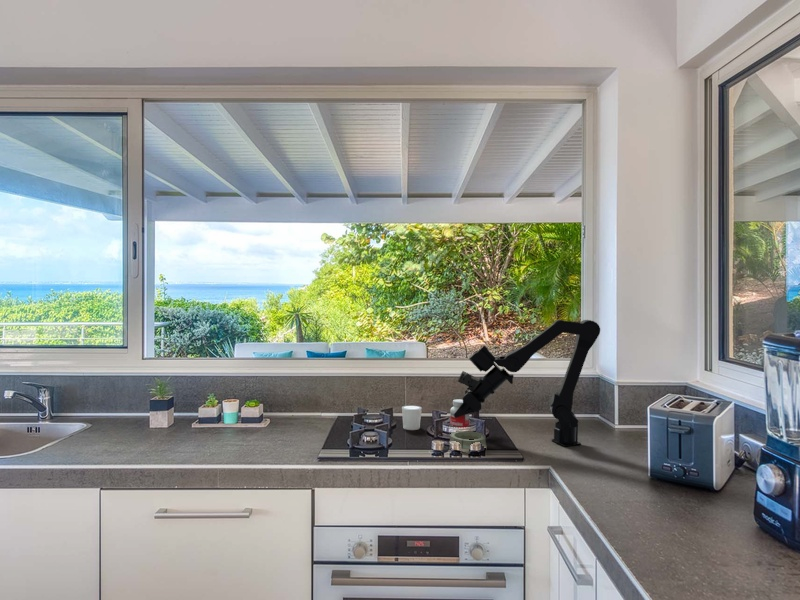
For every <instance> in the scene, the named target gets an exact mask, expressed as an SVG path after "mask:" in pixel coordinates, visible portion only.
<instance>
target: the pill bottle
mask: <svg viewBox="0 0 800 600" xmlns="http://www.w3.org/2000/svg"><path fill="white" fill-rule="evenodd" d="M462 403H463V399H459V398H458V399H457V398H456V399H453V400H452V405H453V406H452V407H451V408H450V412H449V413H450V414H449V416H450V417H449V425H450V424H451V425H453V426H457V427H467V426H469V427H470V413H469V414H466V415H463V416H459V417H456V418H455V417H454V414H455V412H456V411H457V410H458V408H459V407H460V406H461V404H462Z"/></svg>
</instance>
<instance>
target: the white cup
mask: <svg viewBox="0 0 800 600" xmlns="http://www.w3.org/2000/svg"><path fill="white" fill-rule="evenodd" d="M401 412H402V413H401V414H402V427H403V430H407V431H416V430H419V429H420V427H421V420H422V419H421V418H422V406H419V405H412V404H411V405H403V406H401Z"/></svg>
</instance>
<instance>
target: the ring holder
mask: <svg viewBox="0 0 800 600" xmlns="http://www.w3.org/2000/svg"><path fill="white" fill-rule="evenodd" d="M486 437H487V436H486V435H485V434H483V433H481V432H476V431H473V430H469V431H456V432H453V433H451V434H450V433H449V442H450V441H456V442H459V443H460V444H461V450H462V451H465V452H468V451H469V449H470V445H471V444H473V443H475V442H480V443H481V444H482V446H484V448H486V449H487V444H486ZM469 439H474V440H469Z"/></svg>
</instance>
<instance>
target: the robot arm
mask: <svg viewBox="0 0 800 600" xmlns="http://www.w3.org/2000/svg"><path fill="white" fill-rule="evenodd" d="M600 332H601V327H600V325H599V324H598V322H596V321H594V320H591V319H583V320H581V321H570V320H563V319H557V320H555V321H554V322H553V323H552V324H550V325H549V326H548V327H547V328H545V329H544V330H543V331H542V332H540V333H539V334H537V335H536V336H535V337H534V338H532V339H531V340H529V342H527V343H526V344H524V345H522V346H520V347H518V348H516V349H514V350H512V351H510V352H508V353H507V354H506V355H504V356H503V355H502V356H499V355H498V356H495V355H494V354H493V353H492V352H491V351H490V350H489V348H488V347H487V345H482V347H481V348H480V349H478V350H476V351H475V352H474V353H473V354H472V355H470V357H469V358H468V360H469V361H470V362H471V363H472V364H473V365H474V366H475V367H476V369H478V370H479V371H480V372H484V373H486V372H487V373H486V374H485V375H484V376H480V377H479V378H478V377H476V376H474V375H473V374H470V373H468V372H466V371H464V370H462V372H461V374H460V376H459V378H458V379H457V382H458V383H460V384H463V385H465V386H467V387H466V389H465V391H464V393H465V394H464V395H463V396H462V400H463V403H462V404H461V406H460V407H459V408H458V410H457V411H456V412H455V414H454V417H455V418H456V417H459V416H463V415H466V414H469V415H470V414H472V413H478V412H480V411H481V410H482V407H483V403H485V402H486V400H487V399H488V398H489V397H490V396H491V395H493V394H495V393H496V392H495V391H496V390H498V389H499V388H500V387H501V386H502V385H503V384H504V383H505V382H507V381H508V382H509V384H510V385H513V384H514V381H513V379H514V376H515V375H514V374H512V373H518V372H519V371H520V370H521V369H522V368H523V367H524V366H525V365H526V364H527V363H528V362H529V360H530V359H531V358H532V356H534V355H535V354H536V353H538V352H539V351H540V350H541V349H543V348H544V347H546V346H547V345H548V344H549V343H551V342H552V341H553V340H555V338H557V337H558V336H560V335H561V334H562V333H564V334H572V335H575V345H574V350H573V351H572V355H571V357H570V360H569V364H568V366H567V368H566V371H565V375H564V378H563V380H562V384H561V385H560V388H559V389H558V390H557V392H556V391H555V390H553V391H552V393H551V397H550V399H549V401H548V404H549V408H550V409H549V410H550V411H551V414H552V416H553V417H554V418H555V419H556V420H557V422H555V424H554V425H555V426H554V429H553V433H554V434H553V438H552V439H551V442H554V443H555V444H558V445H559V446H560V445H561V446H563V447H571V446H573V447H575V446H580V445H582V443H581V442H580V441H578V438H579V436H578V435H579V419H578V418H577V416H576V414H575V413H574V412H573V411H572V409H573V402H574V392H575V389H576V387H577V384H578V381H579V378H580V376H581V374H582V370H583V367H584V366H585V365H584V364H585V362H586V358H587V356H588V352H589V351H590V350H591V348H592V347H593V346H594V344H595V342H596V341H597V339H598V337H599V336H600ZM500 367H501V368H500ZM509 372H510V373H511V374H510V373H509Z"/></svg>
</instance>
